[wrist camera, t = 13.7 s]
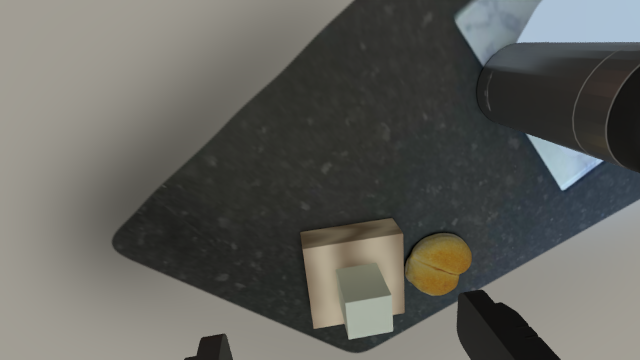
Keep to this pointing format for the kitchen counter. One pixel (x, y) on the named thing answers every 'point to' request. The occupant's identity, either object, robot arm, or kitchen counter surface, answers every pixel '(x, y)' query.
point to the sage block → (364, 300)
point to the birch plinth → (351, 263)
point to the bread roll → (438, 263)
